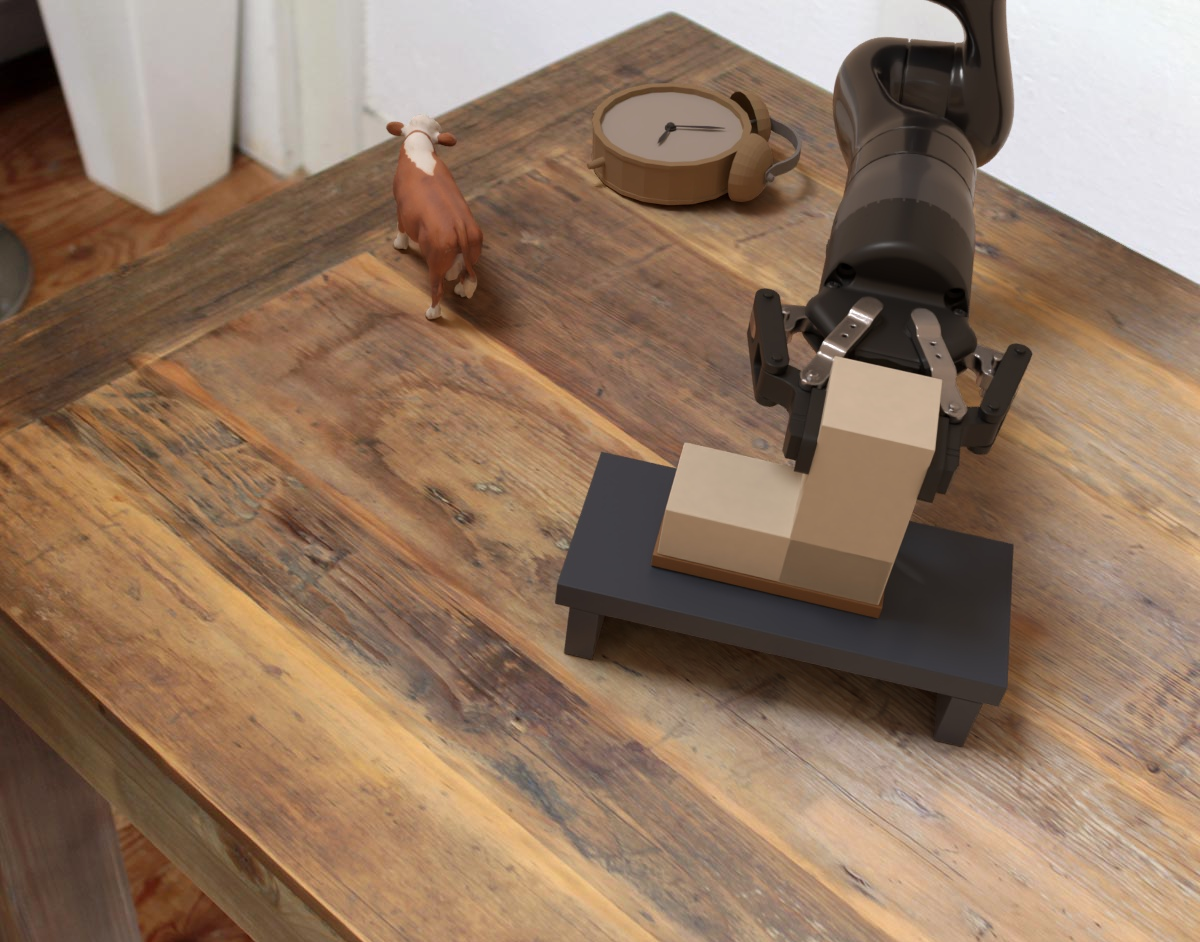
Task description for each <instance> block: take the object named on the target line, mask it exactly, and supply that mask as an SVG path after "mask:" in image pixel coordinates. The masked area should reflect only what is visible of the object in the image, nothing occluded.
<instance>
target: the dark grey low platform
mask: <svg viewBox="0 0 1200 942" xmlns="http://www.w3.org/2000/svg"><path fill="white" fill-rule="evenodd" d="M676 470H677V467H674V466H673V467H672V466H669V465H668V466H667V465H665V464H659V463H655V462H650V461H646V460H642V459H637V458H632V457H628V456H623V455H619V454H616V453H615V454H614V453H610V452H605V451H601V452H600V454H599V457H598V460H597V463H596V466H595V469H594V471H593V475H592V478H591V480H590V484H589V487H588V490H587V492H586V495H585V498H584V502H583V505H582V508H581V511H580V513H579V517H578V520H577V523H576V525H575V529H574V532H573V535H572V539H571V541H570V544H569V547H568V549H567V552H566V556H565V559H564V561H563V565H562V568H561V570H560V574H559V576H558V579H557V582H556V590H555V596H554V597H555V598H554V604H555V605H559V606H563V607H566V608H569V609H568V616H567V623H566V631H565V640H564V648H563V654H566V655H570V656H573V657H578V658H583V659H586V660H593V659H594V655H595V652H596V649H597V645H598V642H599V638H600V635H601V632H602V628H603V625H604V621H605V618H606V617H609V618H613V619H618V620H623V621H627V622H631V623H636V624H640V625H644V626H649V627H653V628H657V629H661V630H666V631H669V632H674V633H678V634H683V635H687V636H691V637H696V638H700V639H704V640H709V641H712V642H717V643H721V644H726V645H730V646H734V647H738V648H742V649H747V650H752V651H755V652H760V653H764V654H768V655H772V656H778V657H781V658H786V659H790V660H794V661H799V662H803V663H806V664H811V665H816V666H820V667H824V668H829V669H833V670H838V671H842V672H846V673H850V674H855V675H858V676H863V677H867V678H872V679H876V680H880V681H883V682H889V683H893V684H896V685H902V686H906V687H910V688H915V689H918V690H924V691H928V692H932V693H936V704H935V714H934V725H933V727H934V728H933V736H932V737H933V739H932V740H933V741H935V742H940V743H945V744H948V745H953V746H957V747H961V748H962V747H964V745H965V743H966V741H967V738H968V736H969V734H970V732H971V730H972V728H973V726H974V723H975V721H976V720H977V717H978V714H979V713H980V711H981V708H982V707H983V704H984V705H988V706H992V707H995V708H998V707H1000V705H1001V702H1002V701H1003V698H1004V696H1005V694H1006V693H1007V690H1008V688H1009V687H1008V686H1009V664H1010V663H1009V662H1010V642H1011V641H1010V640H1011V638H1010V637H1011V620H1012V619H1011V618H1012V617H1011V616H1012V615H1011V614H1012V594H1013V592H1012V590H1013V572H1014V571H1013V568H1014V567H1013V566H1014V543H1011V542H1007V541H1002V540H997V539H994V538H990V537H989V538H988V537H984V536H980V535H975V534H971V533H967V532H962V531H958V530H953V529H948V528H945V527H940V526H936V525H930V524H927V523H921V522H918V521H913V520H910V521H909V523H908V526H907V529H906V531H905V534H904V537H903V540H902V542H901V545H900V548H899V551H898V553H897V556H896V559H895V562H894V564H893V567H892V570H891V572H890V575H889V578H888V581H887V583H886V586H885V590H884V598H883V606H882V610H881V613H880V615H879V618H873V617H869V616H865V615H861V614H856V613H852V612H848V611H844V610H839V609H835V608H831V607H826V606H822V605H818V604H814V603H809V602H805V601H801V600H797V599H792V598H788V597H784V596H780V595H775V594H771V593H767V592H762V591H758V590H754V589H750V588H745V587H741V586H737V585H733V584H728V583H724V582H720V581H716V580H711V579H707V578H703V577H698V576H694V575H690V574H686V573H681V572H677V571H673V570H669V569H664V568H660V567H656V566H652V565H651V561H652V556H653V552H654V548H655V545H656V541H657V537H658V534H659V530H660V527H661V523H662V520H663V516H664V512H665V509H666V505H667V502H668V498H669V495H670V491H671V487H672V485H673V481H674V478H675V474H676Z"/></svg>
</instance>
